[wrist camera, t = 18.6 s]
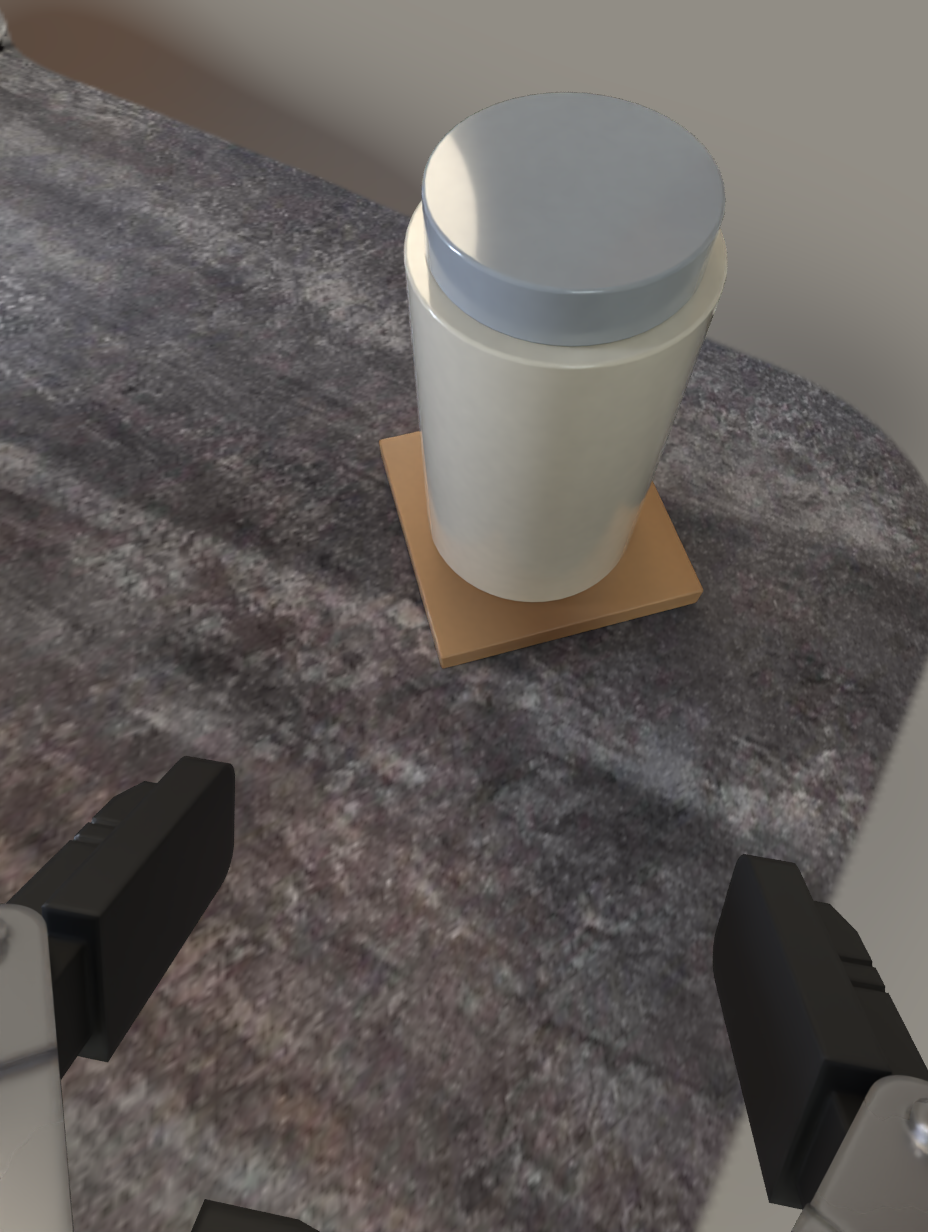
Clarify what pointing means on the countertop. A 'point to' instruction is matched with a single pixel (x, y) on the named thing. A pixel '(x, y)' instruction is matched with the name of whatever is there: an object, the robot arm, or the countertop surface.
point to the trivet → (497, 625)
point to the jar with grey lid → (555, 329)
